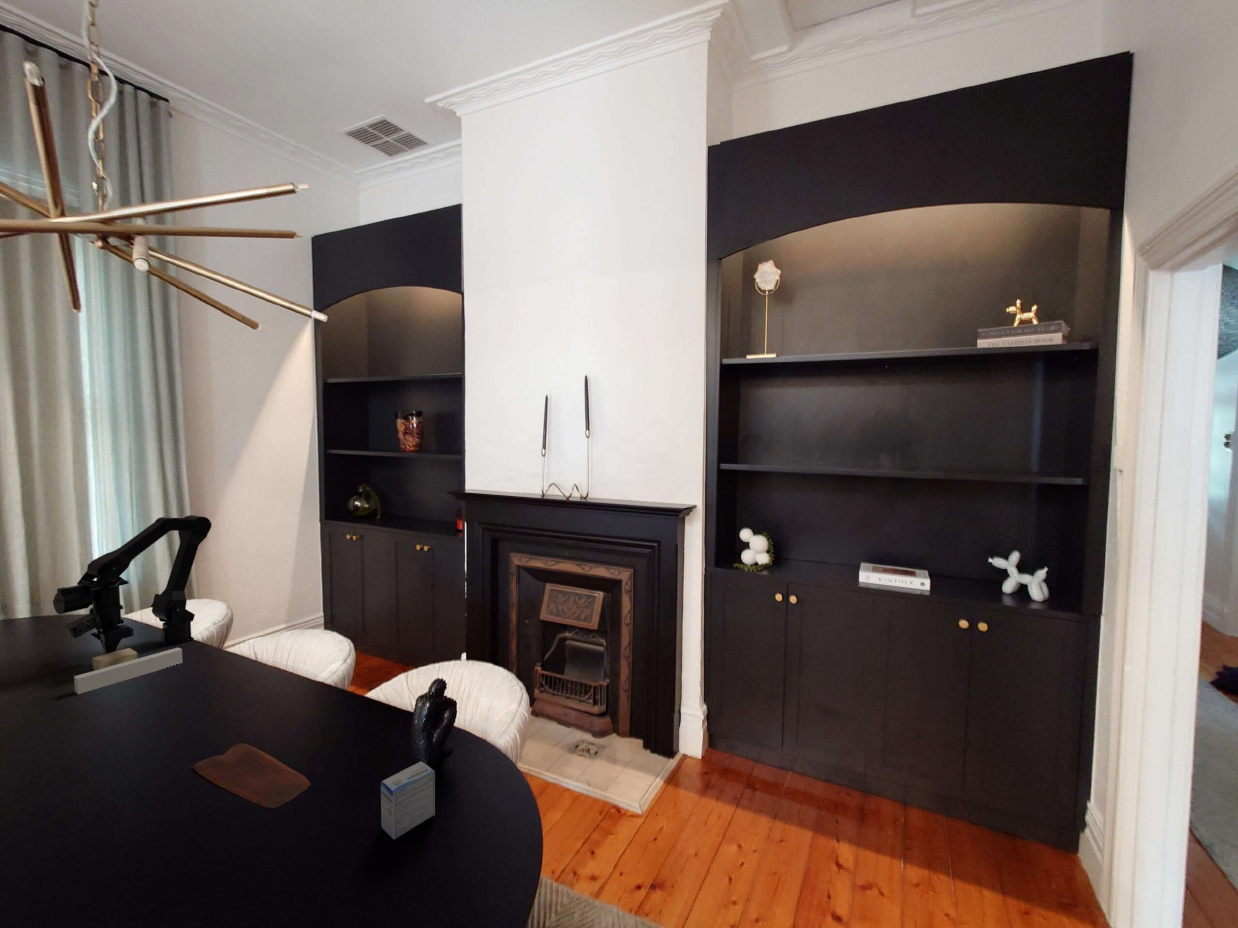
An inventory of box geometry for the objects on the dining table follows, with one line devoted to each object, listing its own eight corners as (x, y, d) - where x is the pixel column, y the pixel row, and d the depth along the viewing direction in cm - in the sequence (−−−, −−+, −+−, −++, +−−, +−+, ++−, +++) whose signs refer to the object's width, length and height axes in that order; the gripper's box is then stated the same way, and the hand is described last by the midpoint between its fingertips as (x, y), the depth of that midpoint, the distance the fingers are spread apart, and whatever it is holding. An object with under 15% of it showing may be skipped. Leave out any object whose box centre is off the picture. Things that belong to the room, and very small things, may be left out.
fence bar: (178, 660, 160) (178, 647, 160) (182, 662, 159) (181, 649, 159) (75, 691, 142) (74, 676, 141) (78, 694, 140) (77, 678, 140)
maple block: (129, 659, 161) (129, 647, 161) (137, 664, 158) (137, 652, 158) (93, 669, 155) (92, 657, 154) (100, 675, 151) (100, 662, 151)
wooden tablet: (188, 771, 112) (188, 763, 112) (241, 746, 121) (241, 739, 121) (266, 817, 99) (265, 808, 99) (319, 785, 108) (319, 777, 108)
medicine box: (422, 804, 103) (421, 759, 102) (435, 815, 100) (435, 769, 99) (380, 828, 97) (379, 780, 96) (394, 841, 94) (393, 791, 93)
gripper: (56, 604, 156) (60, 658, 157) (78, 618, 146) (82, 676, 147) (109, 594, 165) (111, 645, 166) (133, 606, 155) (135, 661, 156)
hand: (109, 656), depth 159 cm, fingers closed
